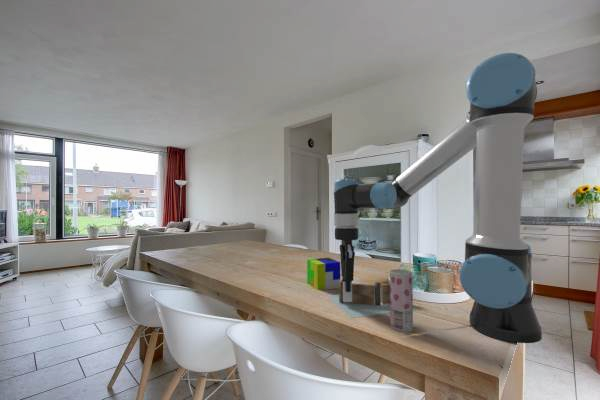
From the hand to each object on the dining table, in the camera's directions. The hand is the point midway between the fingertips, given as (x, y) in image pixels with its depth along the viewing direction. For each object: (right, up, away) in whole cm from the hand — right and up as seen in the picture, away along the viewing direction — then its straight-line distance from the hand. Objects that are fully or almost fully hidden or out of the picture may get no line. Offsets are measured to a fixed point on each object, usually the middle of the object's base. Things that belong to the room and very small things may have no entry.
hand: (347, 301), depth 89 cm
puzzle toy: (-6, -3, +24) cm, 25 cm away
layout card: (+8, -2, +4) cm, 9 cm away
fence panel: (+4, -2, +2) cm, 5 cm away
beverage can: (+12, -2, -15) cm, 19 cm away
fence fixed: (+15, -1, +2) cm, 15 cm away
